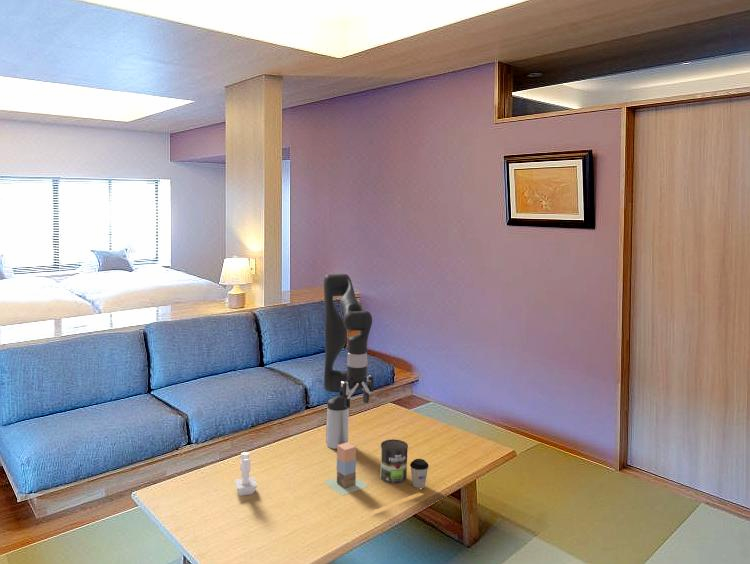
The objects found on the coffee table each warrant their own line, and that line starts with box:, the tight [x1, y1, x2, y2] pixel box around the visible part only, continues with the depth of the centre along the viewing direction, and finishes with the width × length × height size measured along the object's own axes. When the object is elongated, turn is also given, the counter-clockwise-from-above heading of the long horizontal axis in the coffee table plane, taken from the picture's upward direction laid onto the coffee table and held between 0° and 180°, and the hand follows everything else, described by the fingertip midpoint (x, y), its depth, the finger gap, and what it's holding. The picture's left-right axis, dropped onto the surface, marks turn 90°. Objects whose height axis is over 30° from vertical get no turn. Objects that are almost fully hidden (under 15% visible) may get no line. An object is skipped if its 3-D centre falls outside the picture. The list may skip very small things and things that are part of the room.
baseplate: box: [323, 477, 369, 496], centre depth 214 cm, size 12×12×1 cm
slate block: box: [336, 457, 357, 476], centre depth 213 cm, size 5×5×5 cm
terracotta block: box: [336, 441, 357, 463], centre depth 213 cm, size 5×5×5 cm
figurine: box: [233, 451, 258, 497], centre depth 208 cm, size 7×9×15 cm
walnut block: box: [336, 470, 357, 489], centre depth 214 cm, size 5×5×5 cm
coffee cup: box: [409, 458, 429, 490], centre depth 215 cm, size 7×7×10 cm
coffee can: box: [379, 439, 409, 485], centre depth 220 cm, size 10×10×14 cm
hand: (356, 405), depth 217 cm, fingers open, 8 cm apart
